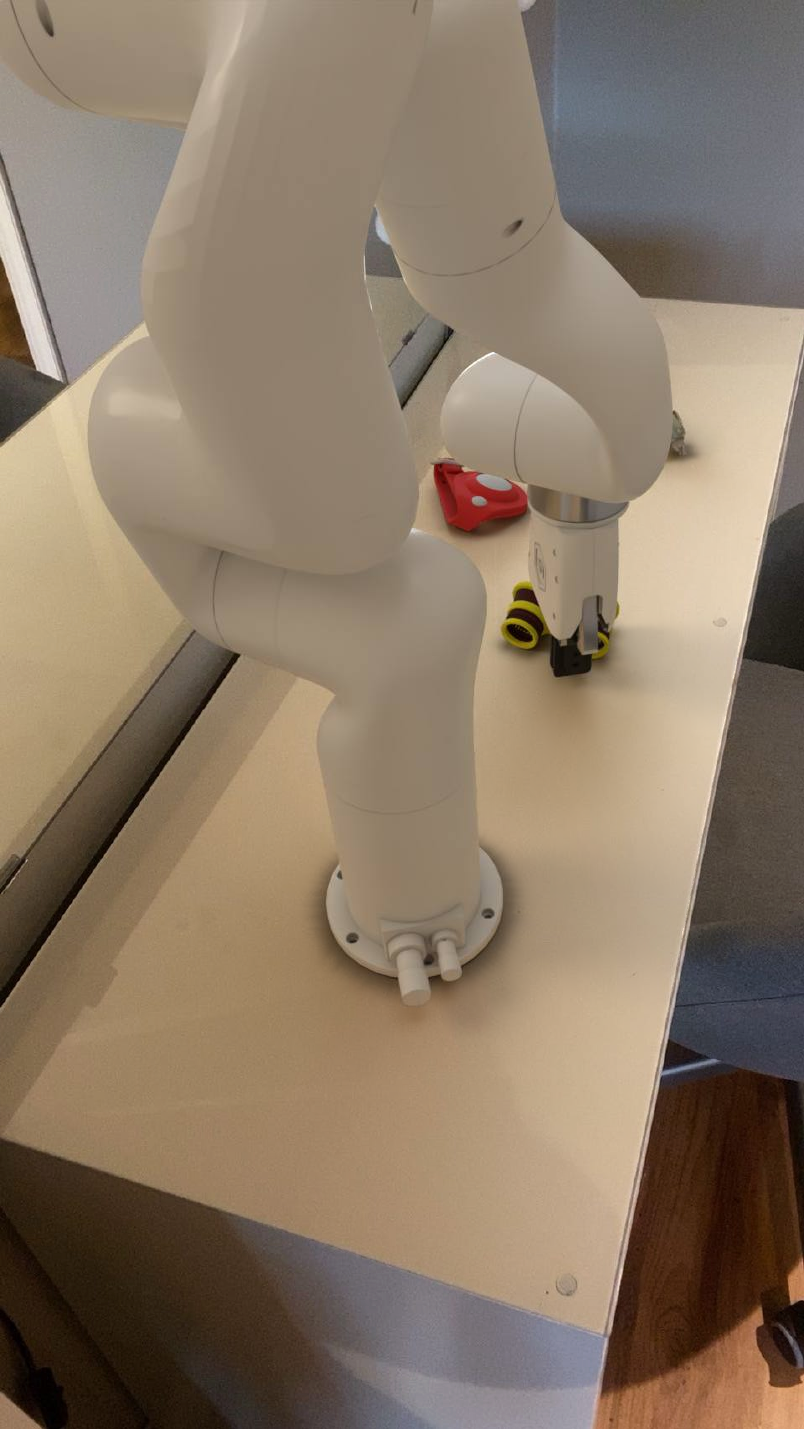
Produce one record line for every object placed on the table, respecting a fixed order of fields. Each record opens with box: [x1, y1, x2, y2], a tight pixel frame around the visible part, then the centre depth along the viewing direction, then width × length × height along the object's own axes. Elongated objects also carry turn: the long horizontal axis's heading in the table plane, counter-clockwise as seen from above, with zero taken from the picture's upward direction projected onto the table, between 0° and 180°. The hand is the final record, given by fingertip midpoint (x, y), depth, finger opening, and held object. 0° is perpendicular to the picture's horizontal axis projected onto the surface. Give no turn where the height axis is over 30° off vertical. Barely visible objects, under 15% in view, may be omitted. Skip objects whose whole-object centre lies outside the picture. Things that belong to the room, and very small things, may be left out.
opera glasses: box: [500, 580, 620, 660], centre depth 93 cm, size 10×5×5 cm, turn 71°
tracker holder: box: [429, 456, 528, 532], centre depth 109 cm, size 12×4×10 cm
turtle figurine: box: [670, 409, 687, 456], centre depth 117 cm, size 9×11×5 cm
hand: (570, 668), depth 90 cm, fingers closed
